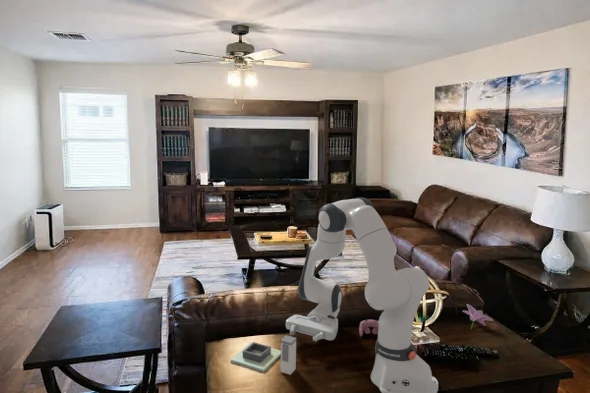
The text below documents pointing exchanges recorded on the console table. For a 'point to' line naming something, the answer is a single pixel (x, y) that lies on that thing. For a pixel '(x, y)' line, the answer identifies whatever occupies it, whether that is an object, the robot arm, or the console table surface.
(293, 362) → the plug
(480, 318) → the lily
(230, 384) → the console table surface
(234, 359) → the board
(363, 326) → the video game controller
